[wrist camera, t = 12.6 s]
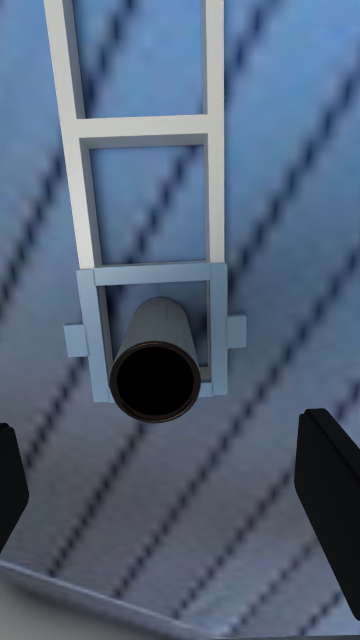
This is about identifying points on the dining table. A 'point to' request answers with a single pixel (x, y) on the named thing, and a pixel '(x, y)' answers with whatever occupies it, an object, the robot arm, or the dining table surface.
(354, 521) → the robot arm
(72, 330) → the white ladder frame
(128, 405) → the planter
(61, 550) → the dining table surface
